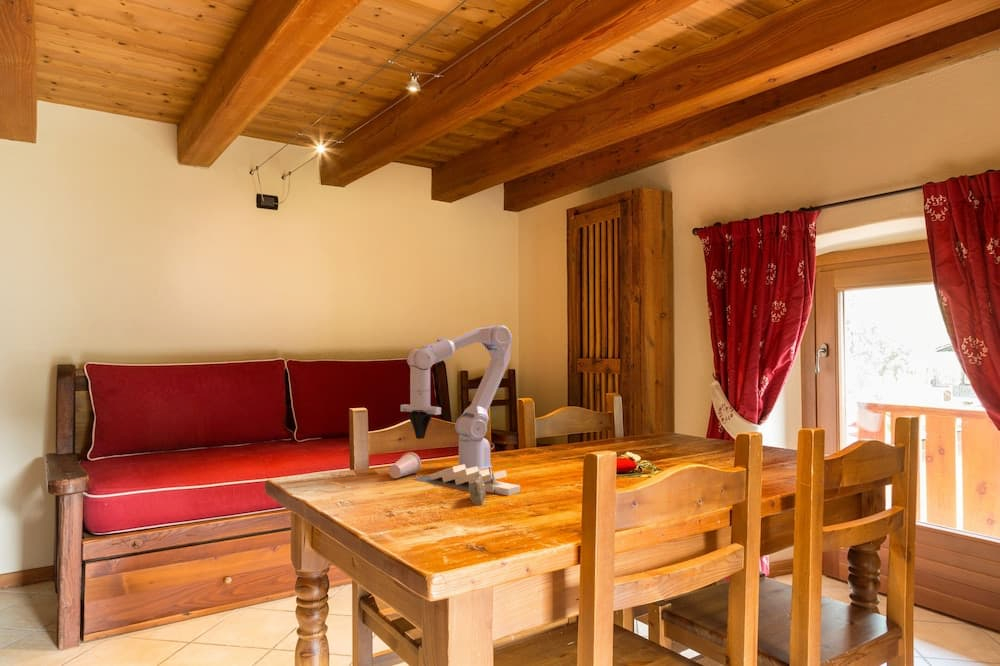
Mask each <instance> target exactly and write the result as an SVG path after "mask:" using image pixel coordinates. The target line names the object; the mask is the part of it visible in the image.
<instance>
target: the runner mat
mask: <svg viewBox="0 0 1000 666" xmlns="http://www.w3.org/2000/svg"><path fill="white" fill-rule="evenodd" d="M411 480H413V481H417V482H423V483H426V484H427V483H428V484H433V485H437V486H442V487H447V488H451V489H457V490H462V491H467V492H469V482H467V483H463V484H459V485H456V482H455V480H452V481H448V482H444V483H443V479H442V478H439V479H435V480H431V476H430V474H429V475H425V476H420V477H415V478H411ZM488 493H489V492H488V491H486V494H488Z"/></svg>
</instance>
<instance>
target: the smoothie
mask: <svg viewBox="0 0 1000 666" xmlns="http://www.w3.org/2000/svg"><path fill="white" fill-rule="evenodd" d="M421 467H422V461H421V458H420V456H419V455H418V454H417V453H415V452H413V451H410V452H406V453H404V454H403V455H401V457H400V458H399V459H398V460H397V461H395V462H394V463H393V464H392V465H390V466H389V468H388V473H389V475H390V477H391V478H392V479H399V478H402V477H405V476H409V475H412V474H413V475H415V474H417V473H418V472H419V471H420V470H421Z"/></svg>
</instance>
